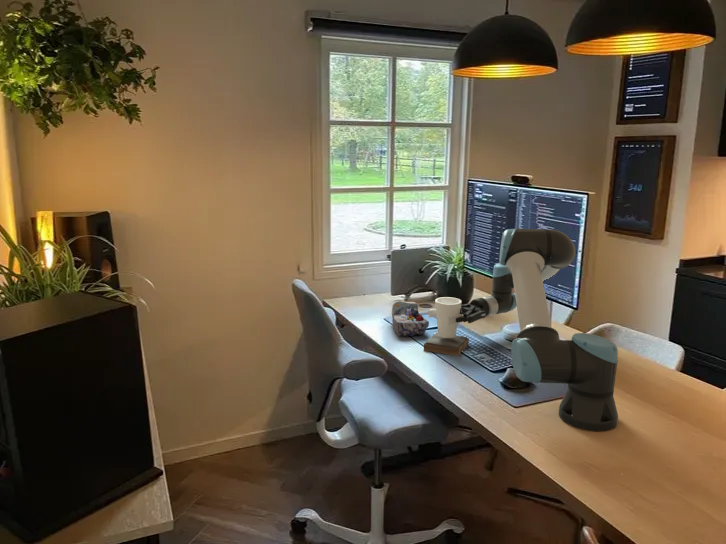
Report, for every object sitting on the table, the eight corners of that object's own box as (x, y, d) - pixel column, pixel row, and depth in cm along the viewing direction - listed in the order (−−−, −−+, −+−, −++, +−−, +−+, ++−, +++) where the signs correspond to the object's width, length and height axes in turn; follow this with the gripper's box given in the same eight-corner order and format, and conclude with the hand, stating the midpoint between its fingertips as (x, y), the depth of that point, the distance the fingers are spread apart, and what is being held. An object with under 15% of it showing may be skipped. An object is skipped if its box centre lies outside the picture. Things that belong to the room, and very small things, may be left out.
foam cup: (459, 340, 205) (460, 305, 202) (433, 338, 207) (434, 303, 203) (460, 331, 214) (461, 297, 211) (435, 329, 216) (436, 296, 212)
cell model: (414, 296, 238) (432, 311, 219) (413, 321, 241) (430, 338, 222) (384, 298, 235) (399, 314, 216) (384, 323, 238) (398, 340, 219)
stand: (458, 356, 203) (458, 348, 202) (423, 350, 208) (423, 342, 208) (468, 344, 214) (469, 337, 213) (435, 339, 220) (435, 331, 219)
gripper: (504, 324, 210) (459, 336, 198) (462, 309, 228) (418, 319, 216) (505, 304, 208) (460, 315, 196) (463, 291, 226) (419, 300, 214)
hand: (438, 317), depth 206 cm, fingers closed on foam cup, 9 cm apart
